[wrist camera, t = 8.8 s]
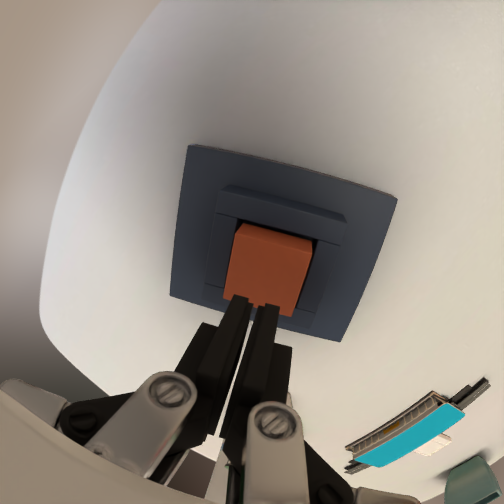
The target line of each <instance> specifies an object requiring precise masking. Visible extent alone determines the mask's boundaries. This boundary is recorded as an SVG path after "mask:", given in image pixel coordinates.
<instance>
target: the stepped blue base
mask: <svg viewBox="0 0 504 504" xmlns="http://www.w3.org/2000/svg"><path fill="white" fill-rule="evenodd" d="M397 201H398V199H397V198H395V197H394V196H392V195H390V194H387V193H384V192H382V191H379V190H376V189H373V188H370V187H366V186H363V185H360V184H357V183H354V182H351V181H347V180H344V179H341V178H337V177H334V176H331V175H327V174H324V173H320V172H317V171H313V170H309V169H305V168H302V167H298V166H294V165H290V164H286V163H282V162H278V161H274V160H269V159H265V158H261V157H256V156H252V155H247V154H242V153H238V152H233V151H228V150H223V149H217V148H212V147H206V146H201V145H188V149H187V154H186V160H185V166H184V173H183V179H182V186H181V193H180V200H179V207H178V215H177V223H176V231H175V240H174V250H173V260H172V271H171V283H170V296H172V297H175V298H178V299H182V300H185V301H188V302H191V303H194V304H197V305H201V306H204V307H207V308H210V309H214V310H217V311H220V312H224V313H225V312H226V310H227V308H228V306H229V303H230V300H227V299H224V298H223V294H224V289H225V283H226V278H227V273H228V268H229V263H230V258H231V253H232V248H233V242H234V237H235V233H236V232H237V231H238V229H239V228H240V227H241V225H242V224H243V223H246V224H250V225H253V226H257V227H261V228H265V229H269V230H273V231H276V232H280V233H284V234H288V235H291V236H295V237H299V238H303V239H306V240H310V241H312V256H311V260H310V263H309V266H308V269H307V272H306V275H305V278H304V281H303V284H302V287H301V290H300V293H299V296H298V299H297V302H296V305H295V308H294V311H293V314H292V316H291V317H289V316H285V315H281V314H279V318H278V323H277V327H278V328H282V329H286V330H290V331H294V332H298V333H302V334H306V335H310V336H314V337H319V338H323V339H327V340H332V341H336V342H341V340H342V338H343V336H344V334H345V332H346V330H347V328H348V325H349V323H350V321H351V319H352V317H353V315H354V313H355V310H356V308H357V306H358V304H359V301H360V299H361V297H362V295H363V292H364V290H365V288H366V285H367V283H368V280H369V278H370V276H371V273H372V271H373V268H374V266H375V263H376V260H377V258H378V255H379V253H380V250H381V247H382V245H383V242H384V239H385V236H386V233H387V231H388V228H389V225H390V222H391V219H392V216H393V213H394V210H395V207H396V204H397ZM256 312H257V308H255V307H253V309H252V313H251V317H250V320H252V321H254V318H255V315H256Z"/></svg>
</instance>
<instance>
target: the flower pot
mask: <svg viewBox="0 0 504 504" xmlns="http://www.w3.org/2000/svg"><path fill="white" fill-rule="evenodd" d="M501 495H502V492H501V489H500V487H499V484H498V481H497V479H496V477H495V474H494V473H493V471H492V470H491V468H490V467H489V465H488V464H487V462H486V461H485V460H484V459H482V458H481V457H480V456H476V457H474V458H472V459H471V460H469V461H467V462H466V463H464V464H462V465H460V466H458V467H456V468H454V469H453V470H451V472H450V474H449V477H448V480H447V483H446V487H445V498H444V500H445V502H444V503H445V504H487V503H489V502H491V501H493V500H495V499H496V498H498V497H500V496H501Z"/></svg>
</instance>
